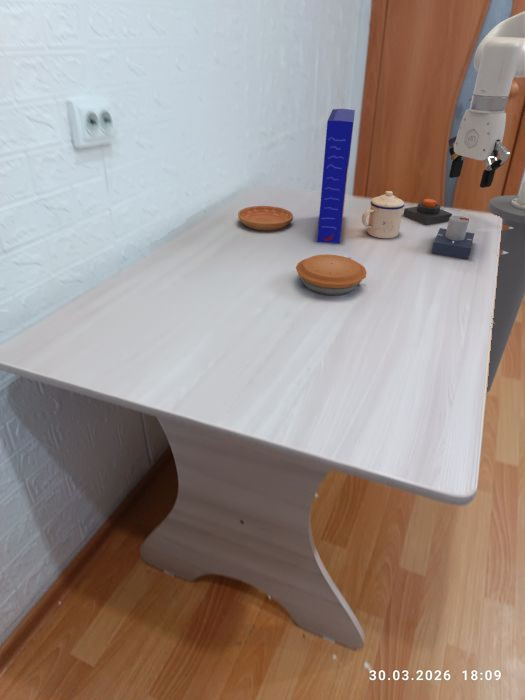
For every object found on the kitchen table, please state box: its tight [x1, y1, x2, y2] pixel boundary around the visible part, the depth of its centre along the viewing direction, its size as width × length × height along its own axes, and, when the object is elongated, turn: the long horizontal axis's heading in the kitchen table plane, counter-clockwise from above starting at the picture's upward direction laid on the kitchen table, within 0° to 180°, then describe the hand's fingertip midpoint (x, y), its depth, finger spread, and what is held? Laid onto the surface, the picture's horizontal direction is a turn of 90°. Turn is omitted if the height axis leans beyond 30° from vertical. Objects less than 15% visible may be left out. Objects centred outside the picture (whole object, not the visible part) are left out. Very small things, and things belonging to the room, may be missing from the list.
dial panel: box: [431, 227, 475, 260], centre depth 126 cm, size 12×9×3 cm
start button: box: [423, 198, 437, 207], centre depth 145 cm, size 4×4×2 cm
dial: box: [445, 215, 470, 241], centre depth 124 cm, size 5×5×5 cm
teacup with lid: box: [361, 190, 405, 239], centre depth 132 cm, size 12×9×12 cm
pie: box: [295, 253, 367, 296], centre depth 106 cm, size 15×16×5 cm
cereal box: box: [316, 108, 356, 244], centre depth 129 cm, size 22×6×30 cm, turn 170°
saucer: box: [237, 205, 294, 232], centre depth 140 cm, size 16×16×3 cm
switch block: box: [402, 201, 453, 226], centre depth 147 cm, size 10×10×4 cm
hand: (469, 181), depth 118 cm, fingers open, 9 cm apart
